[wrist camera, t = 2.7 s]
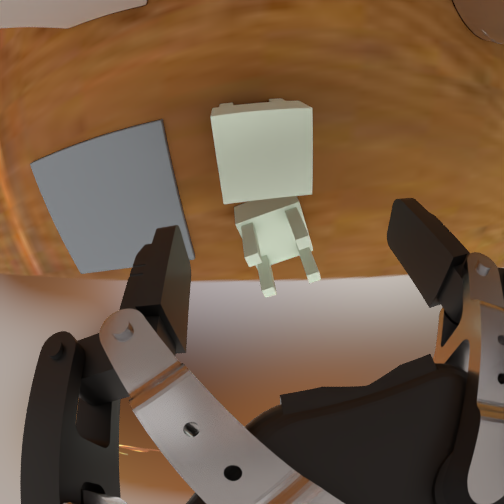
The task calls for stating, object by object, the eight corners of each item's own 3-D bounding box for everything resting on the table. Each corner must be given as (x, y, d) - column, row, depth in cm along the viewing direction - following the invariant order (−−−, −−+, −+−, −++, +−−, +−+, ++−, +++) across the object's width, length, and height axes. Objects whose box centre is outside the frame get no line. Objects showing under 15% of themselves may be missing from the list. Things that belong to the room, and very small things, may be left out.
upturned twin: (233, 206, 25) (238, 255, 19) (291, 185, 24) (312, 229, 19) (254, 249, 28) (262, 301, 23) (305, 232, 27) (325, 281, 22)
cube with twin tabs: (214, 100, 18) (210, 116, 13) (285, 93, 19) (312, 107, 13) (223, 164, 22) (223, 204, 17) (288, 156, 22) (312, 194, 17)
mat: (33, 161, 19) (30, 164, 18) (162, 119, 19) (160, 120, 18) (82, 270, 28) (81, 273, 27) (195, 255, 28) (194, 259, 27)
